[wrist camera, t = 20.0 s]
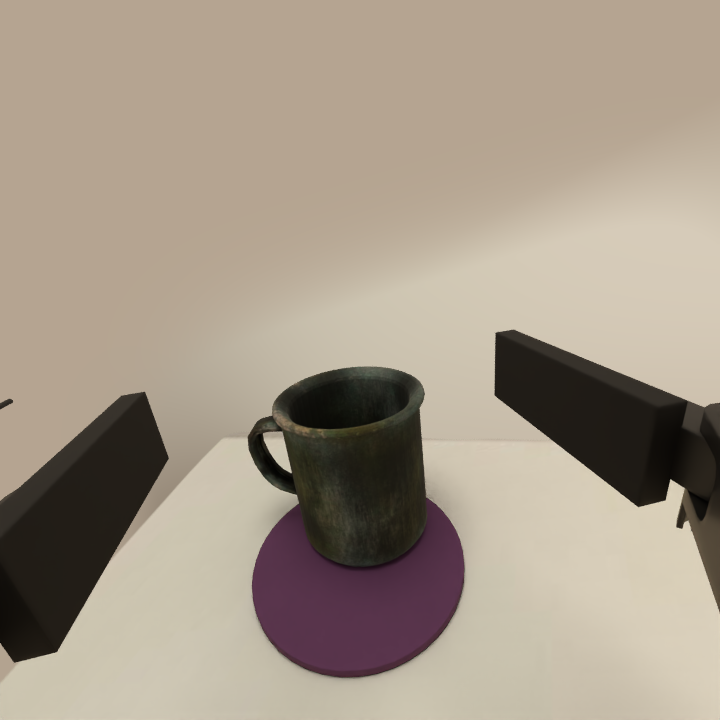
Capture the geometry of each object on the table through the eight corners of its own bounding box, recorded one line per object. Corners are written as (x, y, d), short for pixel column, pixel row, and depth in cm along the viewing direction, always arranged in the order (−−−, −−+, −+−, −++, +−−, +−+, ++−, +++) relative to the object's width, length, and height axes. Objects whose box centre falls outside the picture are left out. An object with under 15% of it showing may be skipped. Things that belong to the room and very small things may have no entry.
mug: (433, 584, 24) (423, 432, 20) (240, 568, 27) (197, 433, 23) (432, 478, 34) (425, 362, 30) (291, 475, 37) (267, 370, 33)
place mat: (243, 526, 32) (242, 521, 32) (398, 466, 37) (397, 461, 37) (274, 742, 18) (271, 735, 18) (515, 596, 23) (515, 590, 23)
